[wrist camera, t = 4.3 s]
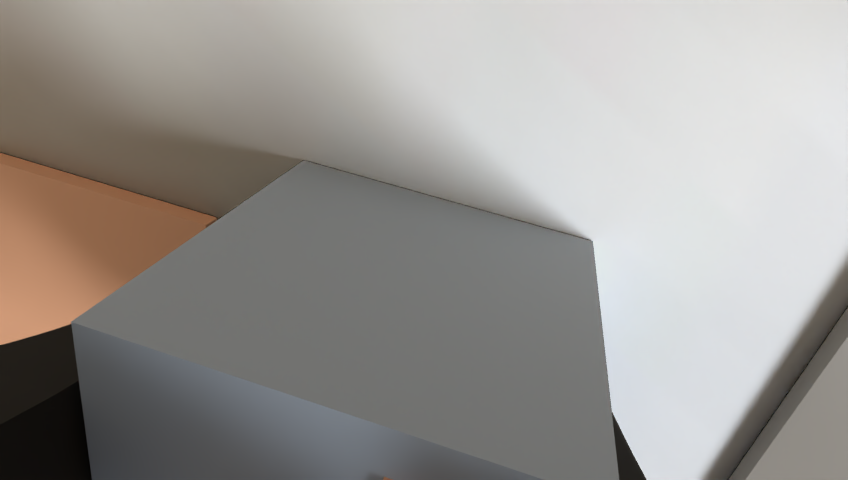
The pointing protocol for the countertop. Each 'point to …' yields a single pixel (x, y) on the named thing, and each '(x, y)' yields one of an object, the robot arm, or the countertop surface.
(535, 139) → the countertop surface
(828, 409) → the grey slate tile
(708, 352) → the countertop surface
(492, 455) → the lettered cube
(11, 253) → the terracotta tile
